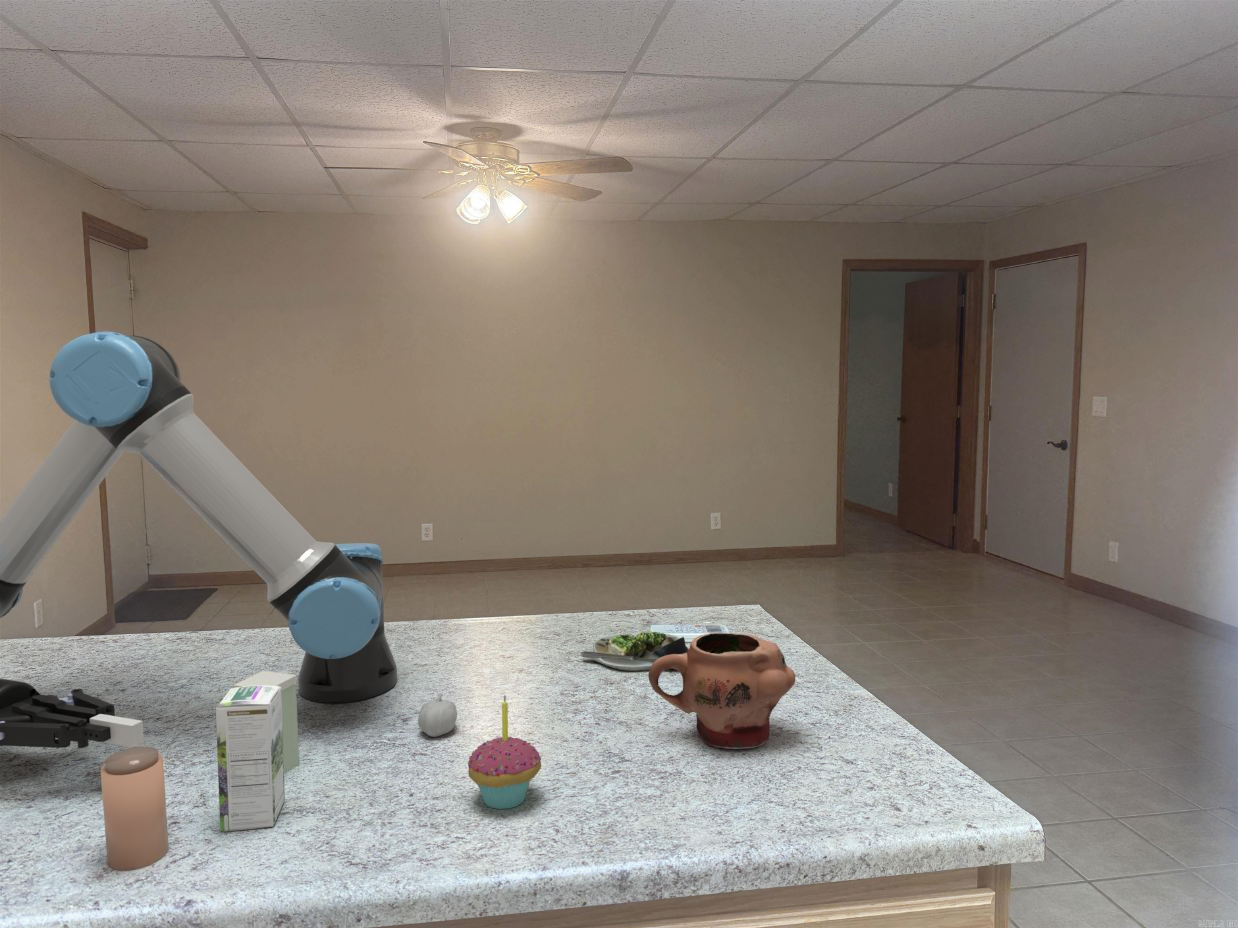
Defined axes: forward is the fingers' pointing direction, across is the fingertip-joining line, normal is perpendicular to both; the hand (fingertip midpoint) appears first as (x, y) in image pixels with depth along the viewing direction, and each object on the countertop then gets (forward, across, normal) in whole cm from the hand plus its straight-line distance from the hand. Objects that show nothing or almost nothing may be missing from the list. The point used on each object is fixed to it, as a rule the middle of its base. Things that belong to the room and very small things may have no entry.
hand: (137, 734), depth 100 cm
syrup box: (+17, 0, -7) cm, 18 cm away
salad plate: (+45, -64, -8) cm, 79 cm away
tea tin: (+11, -10, -7) cm, 16 cm away
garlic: (+26, -26, -8) cm, 37 cm away
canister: (+10, +10, -7) cm, 16 cm away
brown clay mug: (+64, -35, -7) cm, 73 cm away
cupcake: (+42, -11, -7) cm, 44 cm away
